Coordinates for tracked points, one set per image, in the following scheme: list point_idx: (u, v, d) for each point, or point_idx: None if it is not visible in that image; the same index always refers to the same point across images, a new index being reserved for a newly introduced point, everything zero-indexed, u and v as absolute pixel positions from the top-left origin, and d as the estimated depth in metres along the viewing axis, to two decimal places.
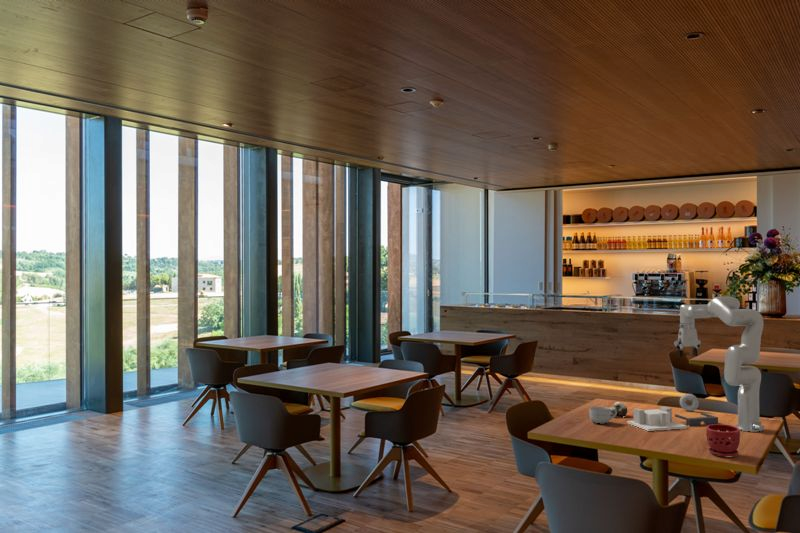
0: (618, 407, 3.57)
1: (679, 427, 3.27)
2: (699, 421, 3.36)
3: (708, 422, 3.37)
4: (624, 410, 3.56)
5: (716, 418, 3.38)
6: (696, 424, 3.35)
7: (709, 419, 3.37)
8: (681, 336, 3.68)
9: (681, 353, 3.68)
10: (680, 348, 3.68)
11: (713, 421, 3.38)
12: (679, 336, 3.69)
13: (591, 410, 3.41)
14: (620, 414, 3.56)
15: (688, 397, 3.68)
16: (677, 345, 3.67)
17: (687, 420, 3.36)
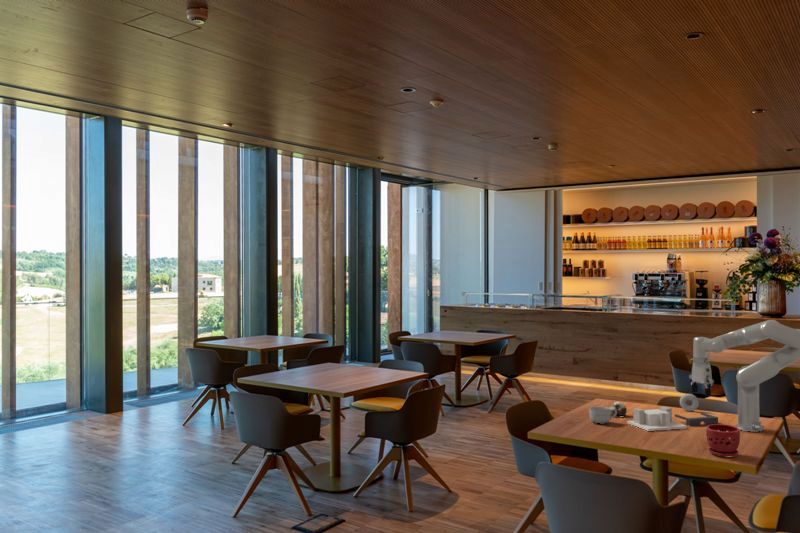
0: (617, 407, 3.58)
1: (679, 427, 3.27)
2: (699, 421, 3.36)
3: (708, 422, 3.37)
4: (623, 410, 3.56)
5: (716, 418, 3.38)
6: (696, 424, 3.35)
7: (709, 419, 3.37)
8: (709, 373, 3.33)
9: None
10: None
11: (713, 421, 3.38)
12: (706, 373, 3.33)
13: (591, 410, 3.41)
14: (619, 414, 3.57)
15: (688, 397, 3.68)
16: None
17: (687, 420, 3.36)
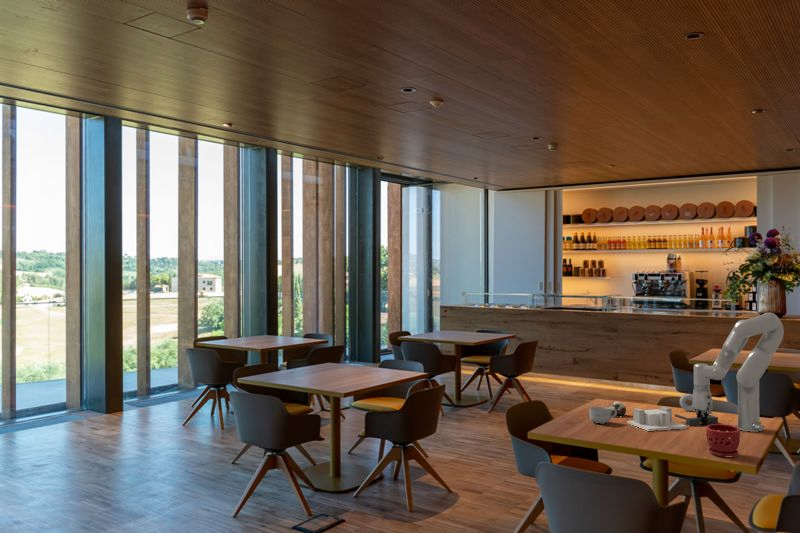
0: (617, 407, 3.58)
1: (679, 427, 3.27)
2: (699, 421, 3.36)
3: (708, 422, 3.37)
4: (623, 409, 3.57)
5: (716, 418, 3.38)
6: (696, 424, 3.35)
7: (709, 419, 3.37)
8: (710, 400, 3.33)
9: (706, 420, 3.36)
10: None
11: (713, 421, 3.38)
12: (707, 400, 3.33)
13: (591, 410, 3.41)
14: (619, 413, 3.57)
15: (688, 397, 3.68)
16: None
17: (687, 420, 3.36)
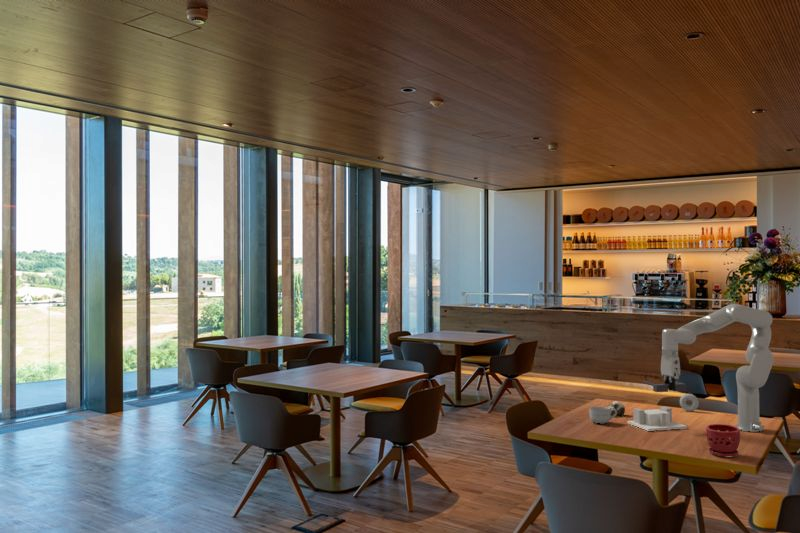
0: (616, 406, 3.59)
1: (679, 427, 3.27)
2: (666, 387, 3.29)
3: (676, 389, 3.31)
4: (622, 409, 3.58)
5: (684, 385, 3.32)
6: (663, 390, 3.29)
7: (677, 386, 3.31)
8: (678, 365, 3.27)
9: None
10: None
11: (681, 388, 3.31)
12: (675, 365, 3.27)
13: (591, 410, 3.41)
14: (618, 413, 3.58)
15: (688, 397, 3.68)
16: None
17: (654, 386, 3.30)
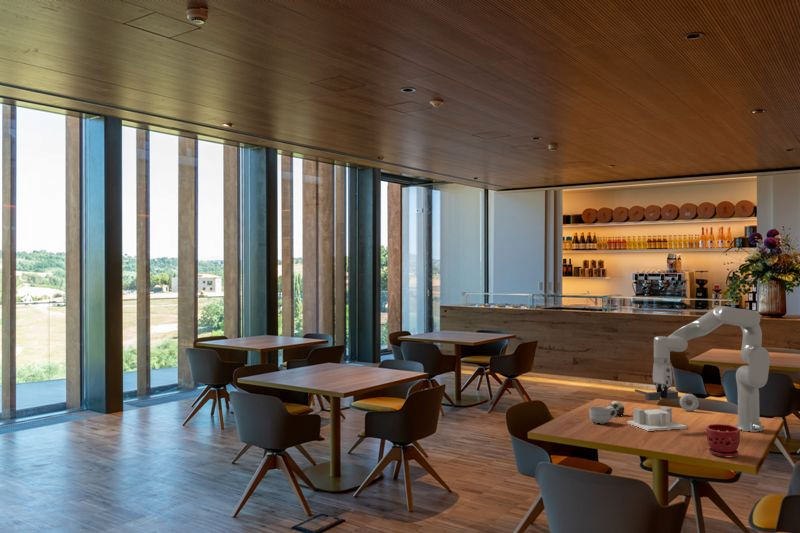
0: (615, 406, 3.60)
1: (679, 427, 3.27)
2: (658, 395, 3.28)
3: (668, 397, 3.29)
4: (621, 409, 3.58)
5: (676, 393, 3.30)
6: (655, 398, 3.27)
7: (669, 394, 3.29)
8: (670, 373, 3.25)
9: None
10: None
11: (673, 396, 3.30)
12: (667, 373, 3.25)
13: (591, 410, 3.41)
14: (617, 413, 3.59)
15: (688, 397, 3.68)
16: None
17: (646, 394, 3.28)
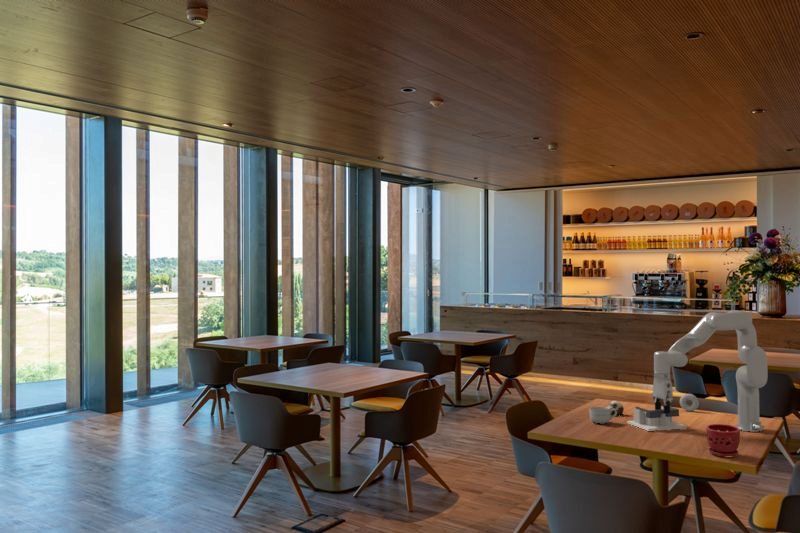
0: (615, 406, 3.60)
1: (679, 427, 3.27)
2: (659, 413, 3.28)
3: (668, 414, 3.29)
4: (621, 409, 3.59)
5: (677, 410, 3.30)
6: (656, 416, 3.27)
7: None
8: (670, 388, 3.25)
9: (669, 409, 3.26)
10: None
11: (674, 413, 3.30)
12: (667, 389, 3.25)
13: (591, 410, 3.41)
14: (617, 413, 3.59)
15: (688, 397, 3.68)
16: None
17: (647, 412, 3.28)
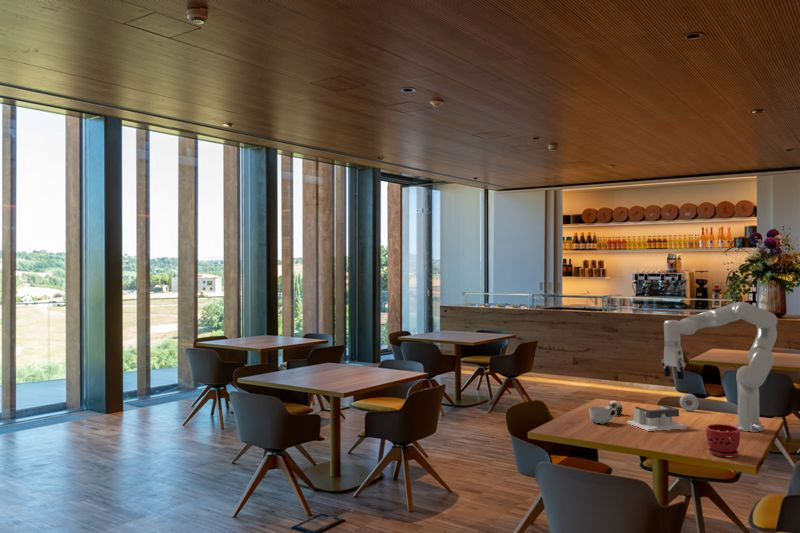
0: (613, 406, 3.61)
1: (679, 427, 3.27)
2: (659, 413, 3.28)
3: (668, 414, 3.29)
4: (619, 409, 3.59)
5: (677, 410, 3.30)
6: (656, 416, 3.27)
7: (669, 411, 3.29)
8: (681, 355, 3.31)
9: (682, 374, 3.30)
10: None
11: (674, 413, 3.30)
12: (678, 356, 3.30)
13: (591, 410, 3.41)
14: None
15: (688, 397, 3.68)
16: (684, 366, 3.28)
17: (647, 412, 3.28)
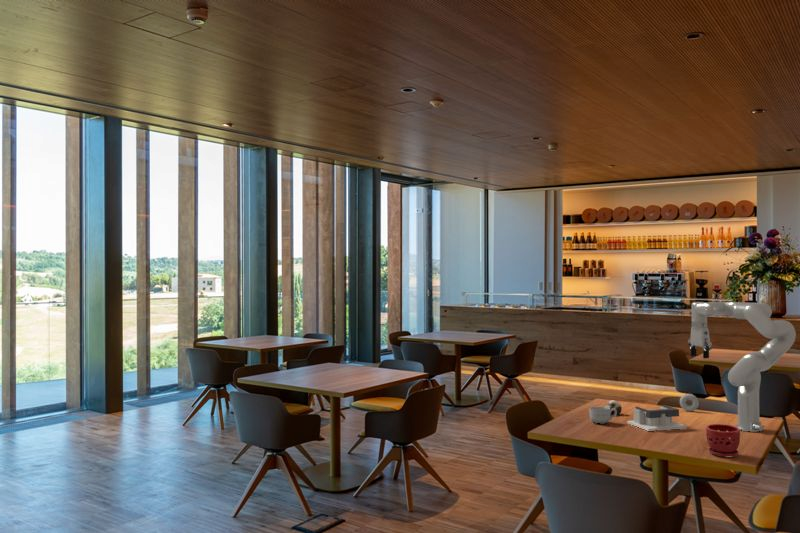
0: (613, 405, 3.61)
1: (679, 427, 3.27)
2: (659, 413, 3.28)
3: (668, 414, 3.29)
4: (619, 408, 3.60)
5: (677, 410, 3.30)
6: (656, 416, 3.27)
7: (669, 411, 3.29)
8: (707, 336, 3.45)
9: None
10: None
11: (674, 413, 3.30)
12: (705, 336, 3.44)
13: (591, 410, 3.41)
14: None
15: (688, 397, 3.68)
16: (710, 346, 3.42)
17: (647, 412, 3.28)
